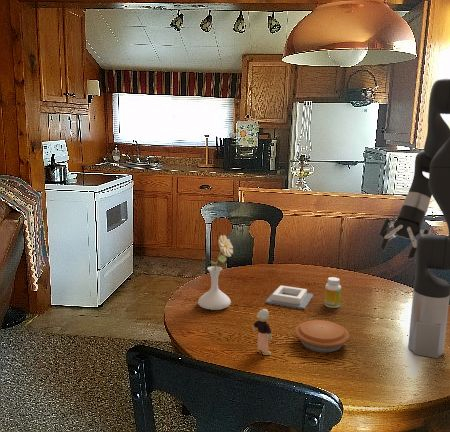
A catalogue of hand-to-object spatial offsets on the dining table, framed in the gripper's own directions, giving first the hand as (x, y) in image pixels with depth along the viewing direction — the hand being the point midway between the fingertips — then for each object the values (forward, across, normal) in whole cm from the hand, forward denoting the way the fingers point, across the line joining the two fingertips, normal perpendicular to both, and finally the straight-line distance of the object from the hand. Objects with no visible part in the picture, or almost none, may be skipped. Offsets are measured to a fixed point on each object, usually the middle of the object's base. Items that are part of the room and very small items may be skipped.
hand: (396, 254), depth 148 cm
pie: (+34, -5, -18) cm, 39 cm away
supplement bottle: (+23, -16, +7) cm, 29 cm away
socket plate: (+27, -30, +3) cm, 41 cm away
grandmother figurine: (+42, -15, -32) cm, 55 cm away
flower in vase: (+39, -46, -15) cm, 62 cm away
